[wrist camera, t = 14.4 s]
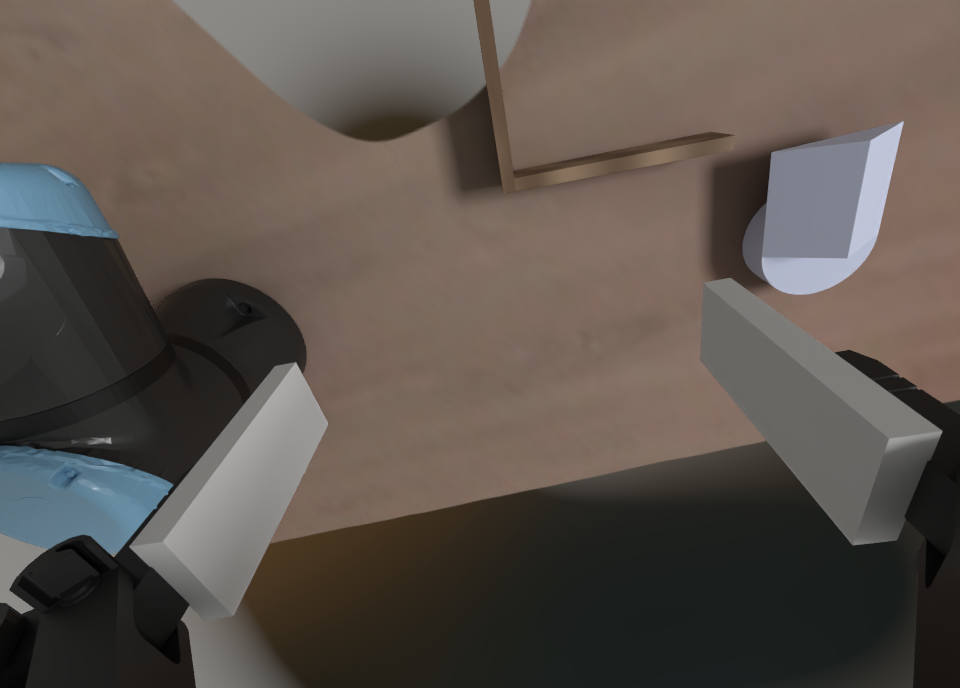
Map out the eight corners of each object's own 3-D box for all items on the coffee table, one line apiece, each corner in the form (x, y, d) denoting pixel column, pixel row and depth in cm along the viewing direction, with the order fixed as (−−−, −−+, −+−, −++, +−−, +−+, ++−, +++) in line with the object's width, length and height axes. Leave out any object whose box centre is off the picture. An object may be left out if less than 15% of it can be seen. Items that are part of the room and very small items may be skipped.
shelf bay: (503, 185, 37) (503, 193, 34) (466, -52, 29) (462, -73, 26) (710, 145, 35) (733, 149, 31) (730, -123, 27) (764, -156, 24)
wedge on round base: (748, 147, 35) (739, 289, 41) (798, 157, 29) (778, 320, 35) (868, 119, 34) (840, 269, 40) (945, 123, 28) (898, 298, 34)
